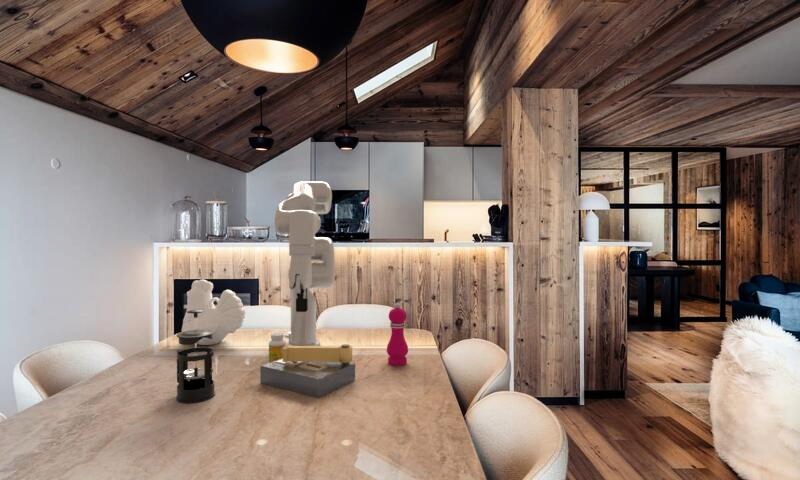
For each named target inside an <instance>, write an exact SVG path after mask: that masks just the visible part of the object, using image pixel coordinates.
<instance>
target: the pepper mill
mask: <svg viewBox="0 0 800 480" xmlns="http://www.w3.org/2000/svg"><path fill="white" fill-rule="evenodd" d="M388 319H389V321H390V323H389V324H390V325H389V327H390V329H391V335H390V338H389V341H388V343H387V345H386V353H387V355H388V357H387V364H389V365H390V366H394V367H395V366H399V367H401V366H404V365H406V364H407V361H408V359H407V355H408V353H409V346H408V344H407V341H406V339H405V336H404V328H405V327H406V325H405V324H406V323H405V321H406V319H407V313H406V310H405V309H403V308H401V304H400V303H398V302H397V303H395V305H394V308H392V309H391V310H390V311H389V312H388Z"/></svg>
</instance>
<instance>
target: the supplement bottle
mask: <svg viewBox="0 0 800 480" xmlns="http://www.w3.org/2000/svg"><path fill="white" fill-rule="evenodd" d="M284 338H285V334H284V333H283V332H275V333H271V334H270V339H271V340H270V341H269V343H268V363H270V362H273V361H276V360H279V359H282V358H283V347H284V346H286V345H287V342H286V340H285V339H284Z"/></svg>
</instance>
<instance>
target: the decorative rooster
mask: <svg viewBox="0 0 800 480" xmlns="http://www.w3.org/2000/svg"><path fill="white" fill-rule="evenodd" d="M213 289H214V284H213V282H211V281H208V280H206V279H204V278H203V279H198V280H194V281H193V282H192V284H191V289H189V290H188V291H187V292H186V296H187V299H186V302H187V304H186V305H187V307H186V312H185V314H184V318H183V319H182V327H181V332H184V331H190V330H195V318H194V313H187V311H190V310H196V309H200V310H204V312H201V313H198V317H197V318H196V326H197V330H201V329H205V330H213V331H214V334H212V339H210V338H202V339H201V340H199V341H198V342H197V345H202V346H211V345H216V344H218V343H221V342H222V341H223V340H224V339H225V338H226V337H227V336H228V335H229V334H234V333H235V332H236V331H237V330H239V329H240V328H242V325H243V322H244V319H245V317H246V315H245V314H246V310H245V308H243V306H244V305H243V302H242V299H241V298H240V297H239V296H237V295H236V292H235V291H232V290H231V289H226V290H223V291H222V293H221V295H220V297H217V296H216V297H213V293H212V291H213ZM214 302H216V306H215V304H214Z"/></svg>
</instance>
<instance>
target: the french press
mask: <svg viewBox="0 0 800 480" xmlns="http://www.w3.org/2000/svg"><path fill="white" fill-rule="evenodd" d="M186 311H187V310H186ZM201 312H204V310H200V309H196V310H190V311H187V313H194V318H195V330H190V331H184V332H182V331H181V332H179V333H177V334H176V337H177V338H178V344H179V345H182V346H192V345H194V347H189V348H182V349H178V350H176V383H178V384H177V385H176V398H175V400H176V402H178V403H181V404H196V403H200V402H201V403H202V402H205V401H208V400H211V399H212V398H214V396H215V395H216V391H215V380H214V379H213V372H214V369H213V357H214V356H215V349H214V348H213V347H207V346H197V345H198V344H197V342H198V341H199V340H201V339H202V338H210V339H212V334H214V331H213V330H205V329H201V330H197V326H196V318H197V317H198V313H201ZM193 353H194V355H191V356H190V355H189V354H193ZM197 353H204V354H200V355H198V354H197ZM198 361H203V362H204V365H203V367H198V366H197V364H198V363H197V362H198ZM188 362H194V367H193V368H189V363H188Z"/></svg>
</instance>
